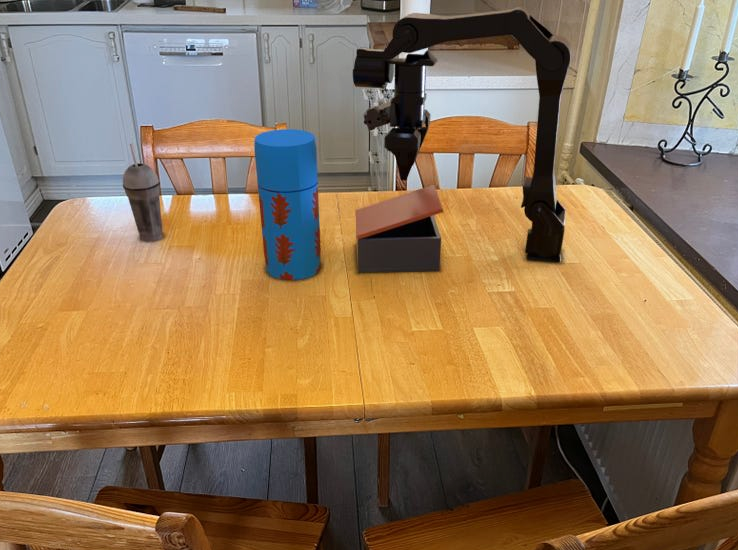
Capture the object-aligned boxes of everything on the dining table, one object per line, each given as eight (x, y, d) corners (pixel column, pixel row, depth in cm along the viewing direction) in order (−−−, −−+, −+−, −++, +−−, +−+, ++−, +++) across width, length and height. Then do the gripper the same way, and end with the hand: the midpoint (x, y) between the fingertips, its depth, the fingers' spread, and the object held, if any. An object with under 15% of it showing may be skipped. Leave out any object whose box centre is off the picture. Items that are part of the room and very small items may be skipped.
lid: (435, 188, 136) (434, 184, 135) (443, 212, 125) (442, 208, 125) (356, 213, 138) (355, 210, 137) (358, 239, 127) (357, 235, 127)
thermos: (312, 283, 128) (305, 148, 114) (257, 277, 130) (244, 144, 116) (327, 258, 137) (322, 130, 123) (275, 253, 138) (265, 127, 124)
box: (431, 243, 142) (433, 212, 138) (439, 271, 132) (441, 238, 128) (356, 245, 142) (355, 214, 138) (358, 272, 131) (357, 240, 127)
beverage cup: (173, 230, 148) (157, 137, 137) (162, 244, 142) (144, 148, 131) (141, 229, 149) (122, 136, 138) (128, 243, 143) (107, 147, 132)
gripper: (376, 77, 136) (376, 155, 145) (356, 100, 121) (357, 186, 130) (432, 79, 134) (428, 159, 143) (419, 103, 119) (415, 190, 128)
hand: (407, 172), depth 136 cm, fingers open, 9 cm apart
